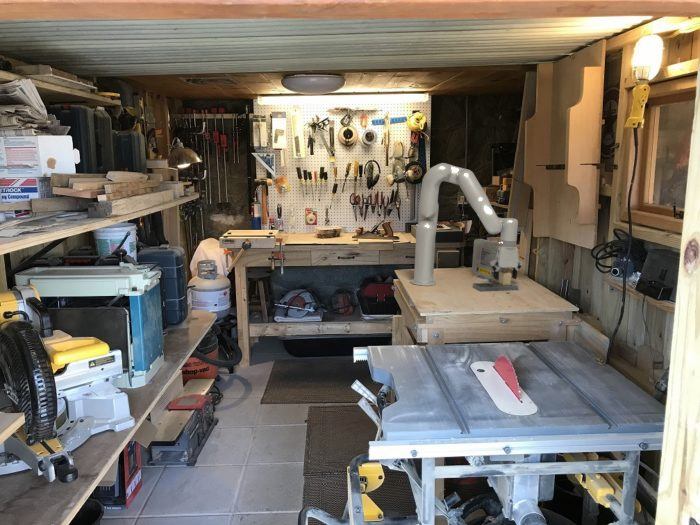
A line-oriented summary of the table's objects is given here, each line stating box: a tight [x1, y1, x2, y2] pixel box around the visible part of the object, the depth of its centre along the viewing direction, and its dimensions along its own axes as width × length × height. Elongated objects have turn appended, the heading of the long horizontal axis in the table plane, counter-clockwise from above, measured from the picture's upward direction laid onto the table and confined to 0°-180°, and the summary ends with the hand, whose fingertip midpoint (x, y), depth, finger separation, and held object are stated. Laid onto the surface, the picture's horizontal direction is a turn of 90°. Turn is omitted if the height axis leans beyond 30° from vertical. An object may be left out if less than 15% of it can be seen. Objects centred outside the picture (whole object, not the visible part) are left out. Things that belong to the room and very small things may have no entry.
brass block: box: [498, 271, 512, 286], centre depth 266 cm, size 4×4×8 cm
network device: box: [471, 238, 510, 283], centre depth 281 cm, size 26×9×20 cm, turn 22°
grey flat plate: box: [472, 282, 519, 292], centre depth 266 cm, size 8×20×2 cm, turn 103°
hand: (505, 278), depth 266 cm, fingers open, 9 cm apart
